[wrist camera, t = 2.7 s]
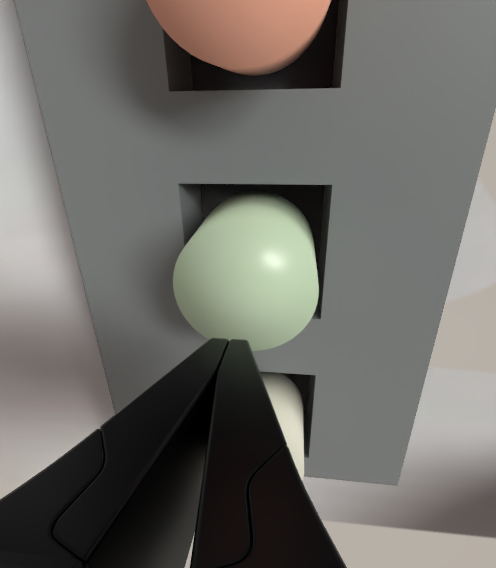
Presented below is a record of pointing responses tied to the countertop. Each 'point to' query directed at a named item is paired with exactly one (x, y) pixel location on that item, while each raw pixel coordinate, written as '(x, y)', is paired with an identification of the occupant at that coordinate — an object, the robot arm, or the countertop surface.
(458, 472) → the countertop surface
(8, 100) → the countertop surface
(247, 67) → the coral button
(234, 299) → the sage button
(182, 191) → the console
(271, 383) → the ivory button
